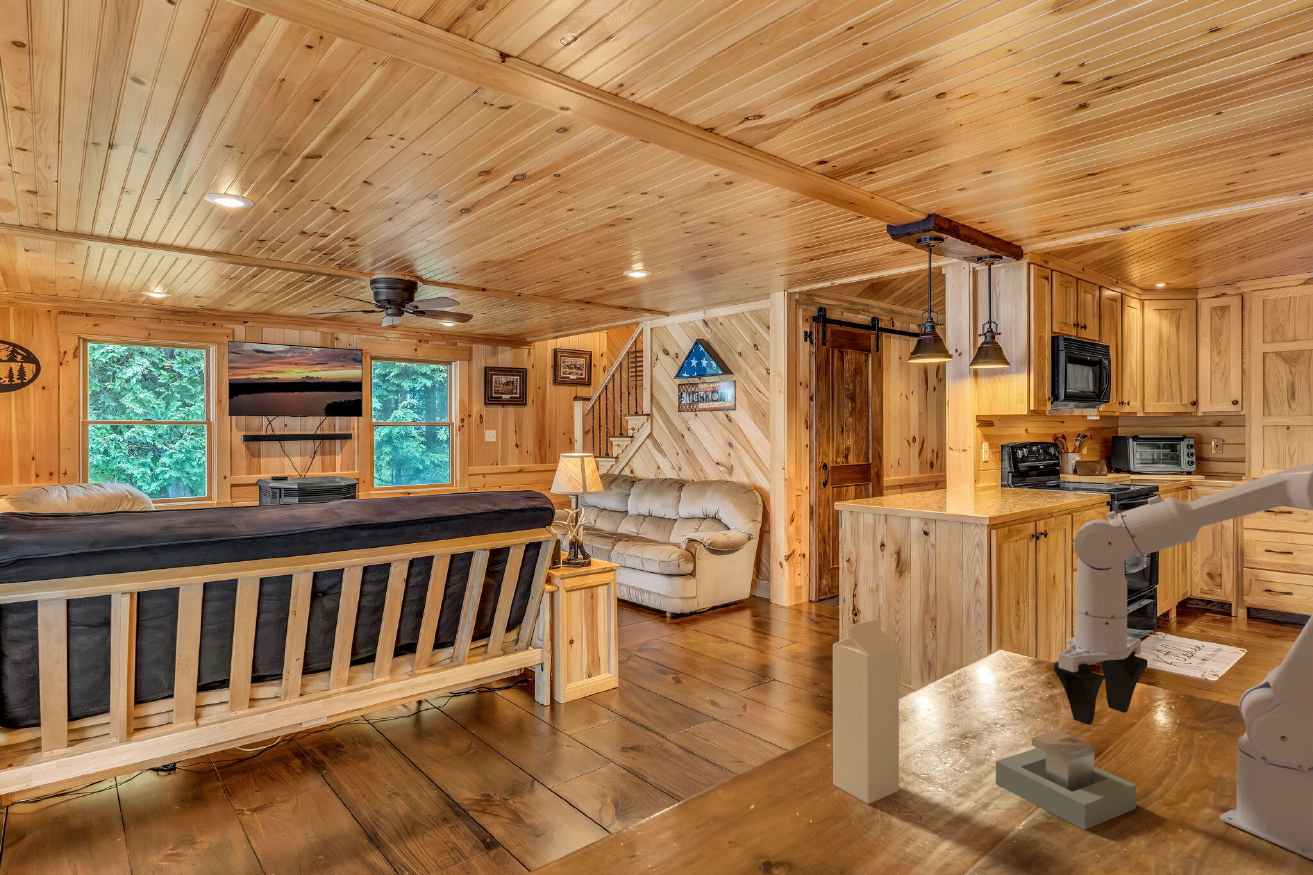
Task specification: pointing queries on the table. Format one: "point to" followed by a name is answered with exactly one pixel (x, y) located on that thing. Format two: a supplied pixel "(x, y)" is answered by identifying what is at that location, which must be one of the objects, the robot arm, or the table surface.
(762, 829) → the table surface
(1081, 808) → the well block
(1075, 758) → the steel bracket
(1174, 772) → the table surface
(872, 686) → the milk
